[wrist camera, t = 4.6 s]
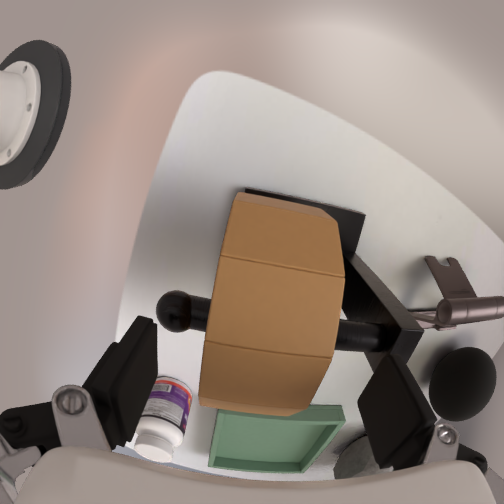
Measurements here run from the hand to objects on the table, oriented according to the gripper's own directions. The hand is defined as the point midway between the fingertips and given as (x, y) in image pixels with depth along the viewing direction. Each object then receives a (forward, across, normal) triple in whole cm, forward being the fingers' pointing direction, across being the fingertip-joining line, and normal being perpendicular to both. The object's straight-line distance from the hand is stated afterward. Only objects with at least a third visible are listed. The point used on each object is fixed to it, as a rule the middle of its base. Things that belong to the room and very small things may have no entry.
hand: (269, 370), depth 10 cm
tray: (+14, -6, +27) cm, 31 cm away
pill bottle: (+14, +7, +20) cm, 25 cm away
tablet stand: (+14, -18, +1) cm, 23 cm away
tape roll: (+5, 0, 0) cm, 5 cm away
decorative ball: (+15, -28, +11) cm, 34 cm away
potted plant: (+15, -25, +30) cm, 42 cm away
